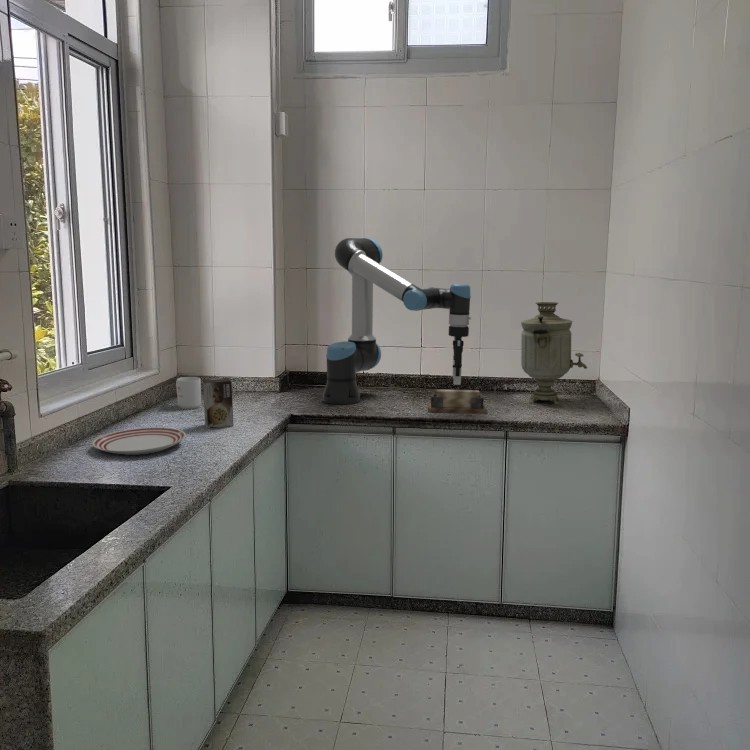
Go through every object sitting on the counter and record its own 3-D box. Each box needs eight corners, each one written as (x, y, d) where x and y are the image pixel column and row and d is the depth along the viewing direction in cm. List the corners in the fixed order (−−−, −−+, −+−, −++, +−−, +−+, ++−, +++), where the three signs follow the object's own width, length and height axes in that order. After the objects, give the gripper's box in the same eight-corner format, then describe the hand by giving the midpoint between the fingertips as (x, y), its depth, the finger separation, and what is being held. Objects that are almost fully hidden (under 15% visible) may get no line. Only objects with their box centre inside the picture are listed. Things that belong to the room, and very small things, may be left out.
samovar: (566, 413, 269) (572, 307, 263) (503, 404, 285) (507, 303, 278) (595, 400, 293) (601, 302, 286) (535, 392, 308) (539, 299, 302)
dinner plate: (88, 463, 205) (88, 452, 204) (96, 439, 231) (96, 429, 230) (187, 456, 212) (187, 445, 212) (185, 433, 238) (184, 424, 238)
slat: (436, 406, 273) (436, 391, 272) (436, 404, 276) (436, 389, 275) (478, 407, 272) (479, 392, 271) (478, 405, 275) (478, 390, 274)
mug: (206, 407, 277) (205, 378, 275) (186, 410, 271) (185, 381, 269) (187, 402, 285) (186, 375, 283) (168, 406, 278) (167, 378, 276)
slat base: (427, 412, 270) (428, 397, 269) (428, 406, 280) (428, 392, 279) (486, 413, 269) (487, 399, 268) (484, 407, 278) (485, 393, 277)
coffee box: (230, 422, 253) (229, 377, 250) (233, 426, 247) (232, 380, 245) (204, 424, 250) (202, 378, 247) (206, 428, 244) (205, 382, 241)
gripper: (470, 329, 256) (467, 388, 260) (467, 322, 281) (465, 375, 285) (449, 329, 257) (447, 387, 261) (448, 321, 281) (446, 374, 285)
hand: (456, 381), depth 273 cm, fingers open, 13 cm apart
